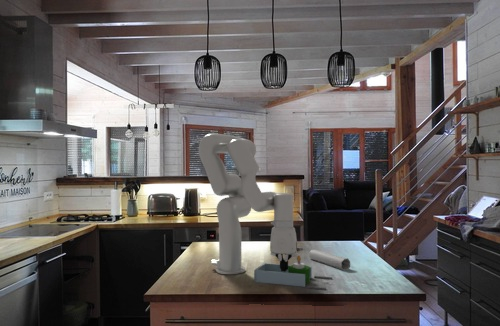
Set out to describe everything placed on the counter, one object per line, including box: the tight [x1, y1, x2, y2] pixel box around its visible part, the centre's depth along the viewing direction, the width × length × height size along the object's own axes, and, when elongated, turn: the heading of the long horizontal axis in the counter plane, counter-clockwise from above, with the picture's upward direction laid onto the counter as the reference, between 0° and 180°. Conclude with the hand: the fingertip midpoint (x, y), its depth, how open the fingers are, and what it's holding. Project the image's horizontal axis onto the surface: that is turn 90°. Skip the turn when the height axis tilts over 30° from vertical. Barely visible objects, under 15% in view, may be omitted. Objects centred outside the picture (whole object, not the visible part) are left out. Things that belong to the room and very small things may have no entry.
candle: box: [288, 255, 311, 285], centre depth 162 cm, size 8×8×10 cm
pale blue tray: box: [253, 262, 312, 288], centre depth 164 cm, size 20×13×4 cm, turn 70°
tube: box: [308, 249, 351, 271], centre depth 190 cm, size 5×5×25 cm
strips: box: [306, 275, 333, 291], centre depth 160 cm, size 7×15×1 cm, turn 160°
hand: (284, 270), depth 164 cm, fingers closed
